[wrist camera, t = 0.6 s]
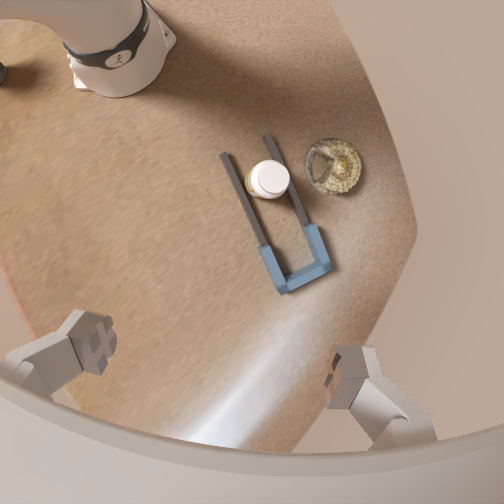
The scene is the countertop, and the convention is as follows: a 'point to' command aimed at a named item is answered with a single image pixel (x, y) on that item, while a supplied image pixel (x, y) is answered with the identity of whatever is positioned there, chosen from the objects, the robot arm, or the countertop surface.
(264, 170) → the supplement bottle
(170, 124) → the countertop surface
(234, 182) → the guide rails
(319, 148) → the cake
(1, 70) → the beverage cup
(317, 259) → the socket block
